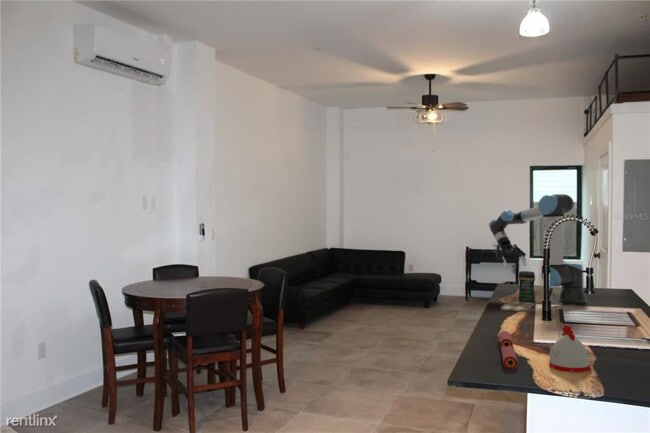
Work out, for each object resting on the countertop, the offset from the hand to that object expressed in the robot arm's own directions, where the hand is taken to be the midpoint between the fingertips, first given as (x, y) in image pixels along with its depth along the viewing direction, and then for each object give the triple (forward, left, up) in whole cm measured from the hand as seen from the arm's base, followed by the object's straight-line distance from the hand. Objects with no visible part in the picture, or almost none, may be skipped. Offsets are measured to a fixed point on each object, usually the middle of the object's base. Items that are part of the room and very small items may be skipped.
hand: (516, 265), depth 352 cm
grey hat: (-50, +139, -21) cm, 149 cm away
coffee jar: (-8, +8, -21) cm, 24 cm away
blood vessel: (-26, +131, -22) cm, 135 cm away
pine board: (-7, +29, -21) cm, 36 cm away
